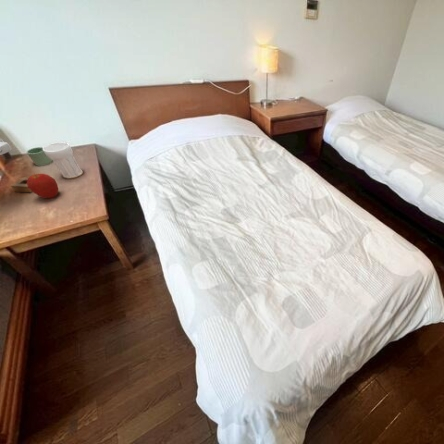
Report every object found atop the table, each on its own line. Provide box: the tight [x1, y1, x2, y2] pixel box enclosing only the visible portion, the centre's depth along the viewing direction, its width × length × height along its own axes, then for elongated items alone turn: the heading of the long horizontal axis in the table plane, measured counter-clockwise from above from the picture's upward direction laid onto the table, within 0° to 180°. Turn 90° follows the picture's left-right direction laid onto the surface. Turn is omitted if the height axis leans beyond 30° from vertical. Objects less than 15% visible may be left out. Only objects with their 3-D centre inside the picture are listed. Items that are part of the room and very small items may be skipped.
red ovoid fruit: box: [27, 173, 59, 199], centre depth 123 cm, size 10×10×14 cm
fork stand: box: [10, 176, 33, 193], centre depth 130 cm, size 8×8×4 cm
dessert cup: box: [26, 146, 53, 167], centre depth 147 cm, size 8×8×8 cm
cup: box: [42, 141, 84, 180], centre depth 137 cm, size 11×11×17 cm
